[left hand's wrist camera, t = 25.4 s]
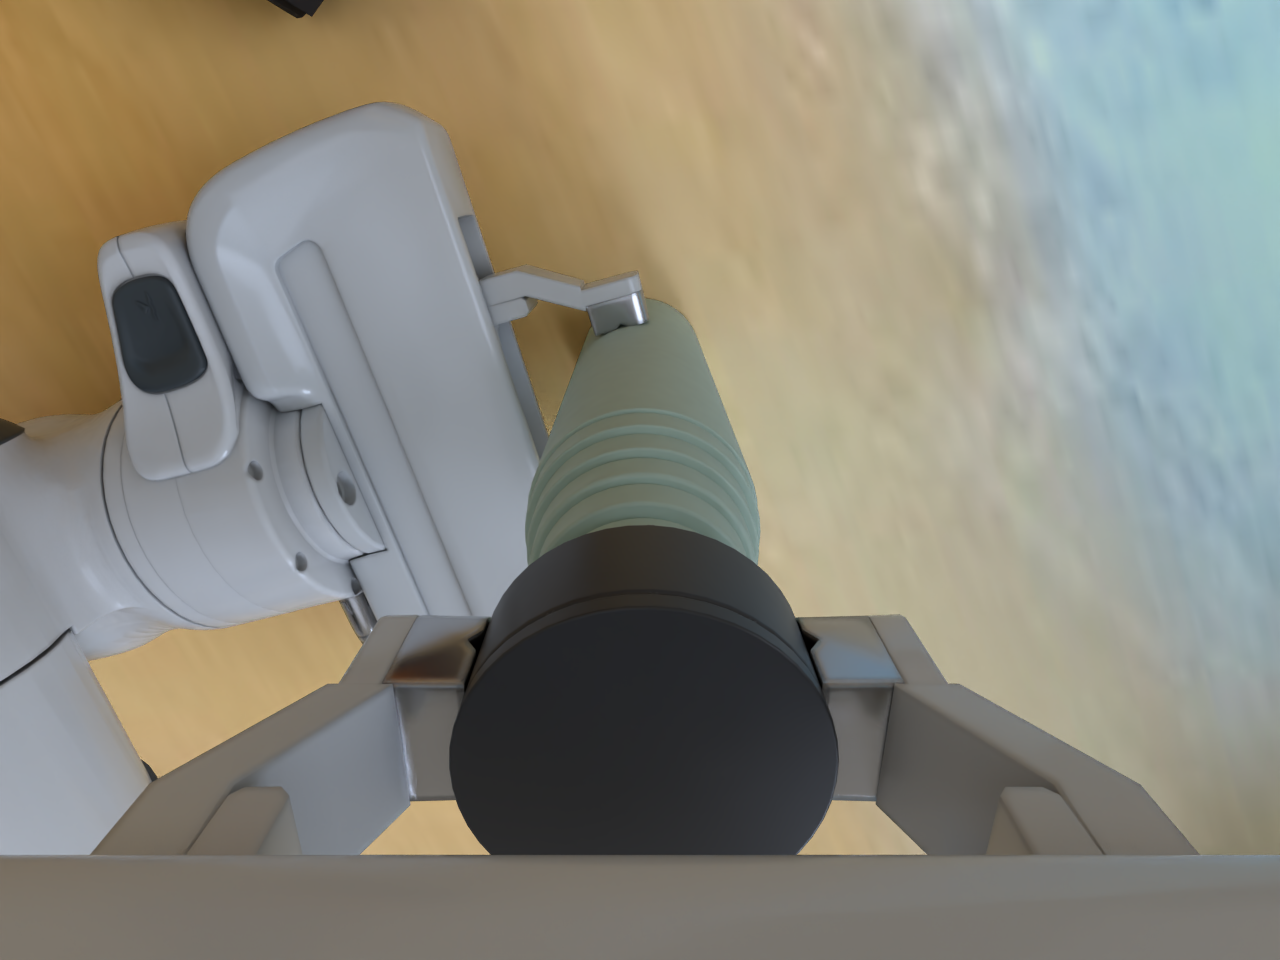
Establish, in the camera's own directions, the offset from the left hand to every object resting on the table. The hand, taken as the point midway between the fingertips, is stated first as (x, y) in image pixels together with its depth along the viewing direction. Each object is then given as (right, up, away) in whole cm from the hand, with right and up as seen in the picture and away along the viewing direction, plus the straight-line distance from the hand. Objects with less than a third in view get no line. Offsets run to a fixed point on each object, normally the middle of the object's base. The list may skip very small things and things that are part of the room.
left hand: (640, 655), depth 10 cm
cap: (0, -1, -2) cm, 2 cm away
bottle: (0, +7, +19) cm, 20 cm away
